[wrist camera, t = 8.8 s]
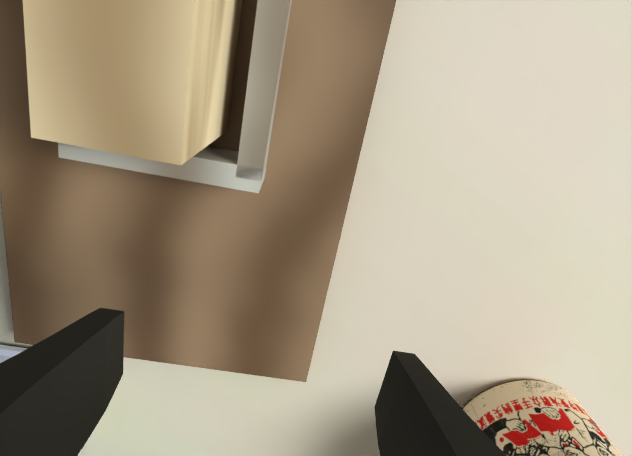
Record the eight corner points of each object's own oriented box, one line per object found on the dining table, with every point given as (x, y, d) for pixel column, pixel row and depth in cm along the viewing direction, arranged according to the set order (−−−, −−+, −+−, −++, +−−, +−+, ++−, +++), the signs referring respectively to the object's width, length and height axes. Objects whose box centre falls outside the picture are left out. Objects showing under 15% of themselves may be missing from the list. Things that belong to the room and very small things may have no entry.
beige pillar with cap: (135, 112, 17) (30, 137, 11) (142, -126, 14) (4, -293, 8) (227, 130, 18) (181, 165, 11) (253, -98, 15) (211, -235, 8)
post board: (26, 330, 22) (-89, 437, 16) (-33, -406, 12) (-413, -943, 6) (305, 369, 24) (305, 482, 17) (452, -260, 14) (584, -558, 7)
